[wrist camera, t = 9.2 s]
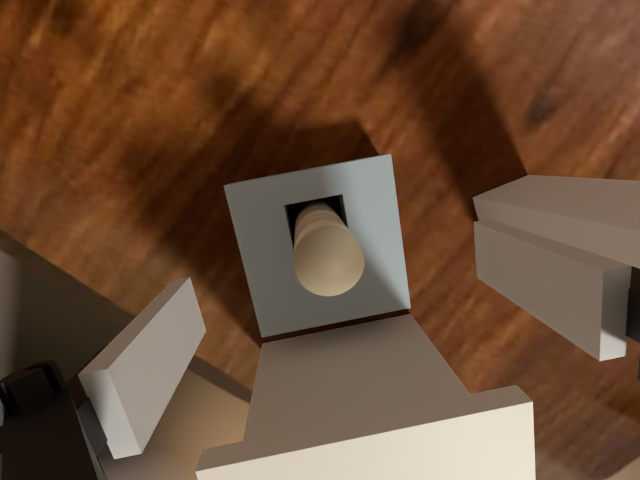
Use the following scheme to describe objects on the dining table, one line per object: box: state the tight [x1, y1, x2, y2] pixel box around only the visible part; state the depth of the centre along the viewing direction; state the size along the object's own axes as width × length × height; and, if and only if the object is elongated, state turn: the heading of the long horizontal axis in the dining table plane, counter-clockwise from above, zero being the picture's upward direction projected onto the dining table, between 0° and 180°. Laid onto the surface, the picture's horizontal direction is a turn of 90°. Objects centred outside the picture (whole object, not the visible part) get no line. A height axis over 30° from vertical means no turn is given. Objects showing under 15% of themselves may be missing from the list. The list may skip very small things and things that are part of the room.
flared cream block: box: [196, 314, 535, 480], centre depth 25 cm, size 6×16×19 cm, turn 100°
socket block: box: [224, 154, 411, 337], centre depth 31 cm, size 14×14×4 cm
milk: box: [472, 175, 640, 269], centre depth 23 cm, size 6×6×22 cm
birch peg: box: [294, 200, 364, 296], centre depth 25 cm, size 4×4×14 cm
